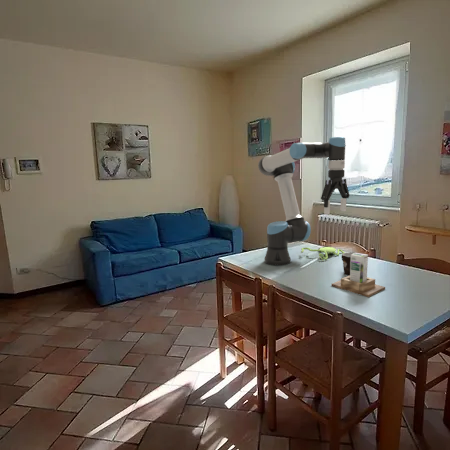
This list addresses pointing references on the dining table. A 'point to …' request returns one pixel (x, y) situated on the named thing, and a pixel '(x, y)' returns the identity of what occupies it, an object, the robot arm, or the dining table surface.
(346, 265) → the coffee mug
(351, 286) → the wooden socket base
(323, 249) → the figurine
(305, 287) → the dining table surface
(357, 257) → the syrup box
